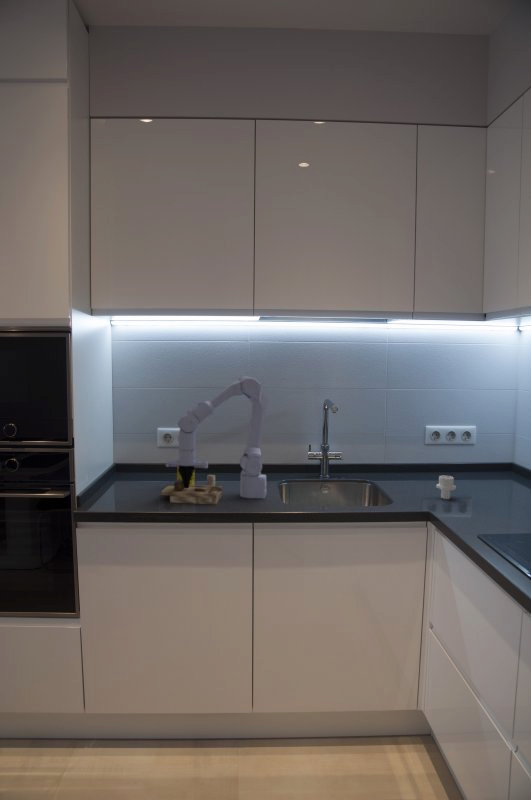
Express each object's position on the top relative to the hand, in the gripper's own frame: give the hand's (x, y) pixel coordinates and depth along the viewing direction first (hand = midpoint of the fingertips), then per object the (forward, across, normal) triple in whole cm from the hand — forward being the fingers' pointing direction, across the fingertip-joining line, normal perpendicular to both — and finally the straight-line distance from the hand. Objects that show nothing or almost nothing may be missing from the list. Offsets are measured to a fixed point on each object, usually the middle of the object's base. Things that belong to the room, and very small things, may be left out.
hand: (186, 487), depth 192 cm
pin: (+5, -6, -11) cm, 14 cm away
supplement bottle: (+5, +4, -17) cm, 18 cm away
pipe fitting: (+5, -94, -21) cm, 96 cm away
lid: (+2, 0, 0) cm, 2 cm away
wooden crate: (+5, -4, 0) cm, 6 cm away
